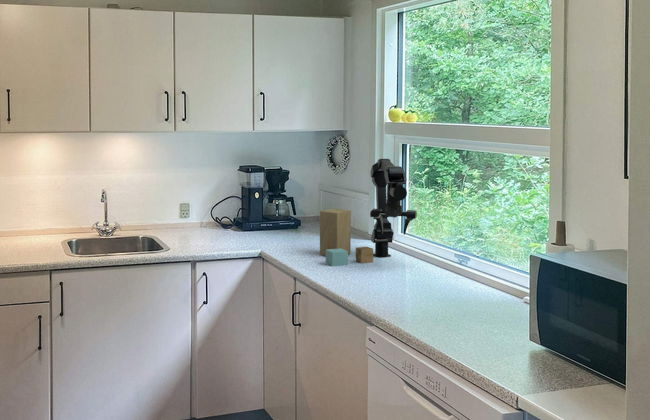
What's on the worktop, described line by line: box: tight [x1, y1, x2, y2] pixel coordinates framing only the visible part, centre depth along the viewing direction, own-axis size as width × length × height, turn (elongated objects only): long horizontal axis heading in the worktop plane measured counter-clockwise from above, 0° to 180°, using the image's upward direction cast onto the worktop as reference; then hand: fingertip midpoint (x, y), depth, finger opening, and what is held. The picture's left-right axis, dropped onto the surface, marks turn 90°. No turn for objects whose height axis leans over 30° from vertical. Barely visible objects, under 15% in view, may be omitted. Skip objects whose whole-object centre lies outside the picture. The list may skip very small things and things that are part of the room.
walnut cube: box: [355, 246, 374, 264], centre depth 345 cm, size 6×6×6 cm
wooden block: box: [319, 208, 352, 257], centre depth 360 cm, size 10×10×20 cm
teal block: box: [325, 248, 349, 267], centre depth 340 cm, size 7×7×6 cm
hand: (393, 234), depth 337 cm, fingers open, 9 cm apart
